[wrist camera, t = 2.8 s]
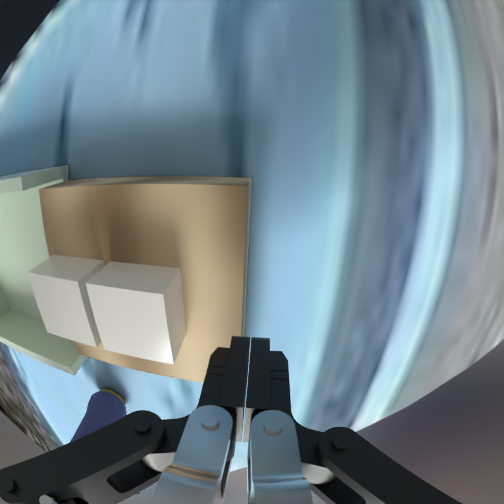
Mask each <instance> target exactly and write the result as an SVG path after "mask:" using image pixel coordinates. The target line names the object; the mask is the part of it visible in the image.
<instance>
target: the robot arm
mask: <svg viewBox="0 0 504 504" xmlns="http://www.w3.org/2000/svg"><path fill="white" fill-rule="evenodd" d="M249 348H250V337H242V336H232V339H231V344H230V348H225V347H217V348H216V350H215V351H214V352H213V353H212V354H211V355H210V359H209V363H208V367H207V371H206V375H205V379H204V383H203V387H202V391H201V395H200V399H199V403H198V406H197V408H196V409H195V410H194V411H193V412H192V413H191V414H189V415H188V416H185V417H182V418H178V419H166V420H161V418H160V417H159V416H158V415H156V414H155V413H153V412H150V411H145V410H140V411H135V412H132V413H130V414H128V415H126V416H124V417H122V418H120V419H119V420H117V421H115V422H113V423H111V424H109V425H107V426H105V427H103V428H100V429H98V430H96V431H94V432H92V433H90V434H88V435H86V436H84V437H81V438H79V439H77V440H75V441H73V442H70V443H68V444H66V445H63V446H61V447H59V448H56V449H54V450H52V451H49V452H47V453H44V454H42V455H39V456H37V457H34V458H31V459H29V460H26V461H23V462H21V463H18V464H15V465H12V466H9V467H6V468H3V469H1V470H0V497H1V498H2V499H3V500H4V501H6V502H7V503H9V504H117V503H119V502H121V501H123V500H125V499H127V498H129V497H131V496H132V495H134V494H136V493H138V492H140V491H141V490H143V489H145V488H147V487H148V486H150V485H152V484H154V483H155V482H157V481H158V484H157V487H156V489H155V492H154V495H153V497H152V500H151V503H150V504H223V499H224V495H225V490H226V485H227V481H228V477H229V472H230V468H231V463H232V458H233V456H234V451H235V442H236V441H239V442H241V440H242V429H243V419H244V408H245V397H246V387H247V397H246V408H245V423H244V437H243V442H249V443H248V456H247V486H248V504H313V502H312V495H311V490H312V491H313V492H314V493H315V494H317V495H318V496H319V497H320V498H321V499H322V500H323V501H325V502H326V503H327V504H462V503H460V502H458V501H457V500H455V499H453V498H451V497H450V496H448V495H446V494H445V493H443V492H441V491H440V490H438V489H436V488H435V487H433V486H432V485H430V484H428V483H427V482H425V481H424V480H422V479H421V478H419V477H417V476H416V475H414V474H413V473H411V472H410V471H408V470H407V469H405V468H404V467H403V466H401V465H400V464H398V463H396V462H395V461H394V460H392V459H391V458H389V457H388V456H387V455H385V454H384V453H382V452H381V451H380V450H378V449H377V448H376V447H374V446H373V445H372V444H370V443H369V442H368V441H366V440H365V439H364V438H362V437H361V436H360V435H358V434H357V433H356V432H354V431H353V430H351V429H349V428H346V427H334V428H330V429H328V430H327V431H325V432H320V431H316V430H312V429H308V428H305V427H303V426H302V425H300V424H299V423H298V422H296V420H295V419H294V418H293V416H292V413H291V400H290V384H289V373H288V371H289V369H288V360H287V358H286V357H285V355H284V354H283V352H282V351H270V338H257V337H252V340H251V351H250V363H249ZM248 363H249V374H248ZM247 376H248V386H247Z"/></svg>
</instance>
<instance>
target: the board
mask: <svg viewBox="0 0 504 504" xmlns="http://www.w3.org/2000/svg"><path fill="white" fill-rule="evenodd" d="M251 191H252V178H239V177H213V176H132V177H107V178H90V179H76V180H67V181H64V182H61V183H57V184H54V185H51V186H47V187H44V188H41V189H39V195H40V205H41V213H42V220H43V227H44V233H45V239H46V244H47V249H48V254H49V257H51V256H52V255H61V256H69V257H78V258H86V259H95V260H103V261H104V266H106V265H107V264H108V263H109V262H111V261H114V262H123V263H133V264H143V265H153V266H163V267H174V268H181V276H182V290H183V302H184V314H185V324H186V336H185V338H184V341H183V343H182V346H181V348H180V350H179V353H178V355H177V358H176V360H175V363H174V364H168V363H162V362H157V361H152V360H147V359H142V358H138V357H133V356H129V355H124V354H120V353H116V352H112V351H108V350H104V347H103V344H102V341H101V343H100V344H99V345H98V347H93V346H90V345H86V344H83V343H79V342H76V341H74V343H75V345H76V348H77V350H78V353H79V354H80V355H84V356H87V357H90V358H93V359H97V360H100V361H104V362H107V363H111V364H115V365H119V366H122V367H126V368H131V369H135V370H139V371H144V372H148V373H153V374H158V375H163V376H168V377H173V378H179V379H185V380H191V381H197V382H204V379H205V375H206V371H207V367H208V363H209V359H210V355H211V354H212V353H213V352H214V351H215V350H216V348H217V347H225V348H230V344H231V339H232V336H242V337H244V336H245V315H246V293H247V272H248V252H249V231H250V211H251Z"/></svg>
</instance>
